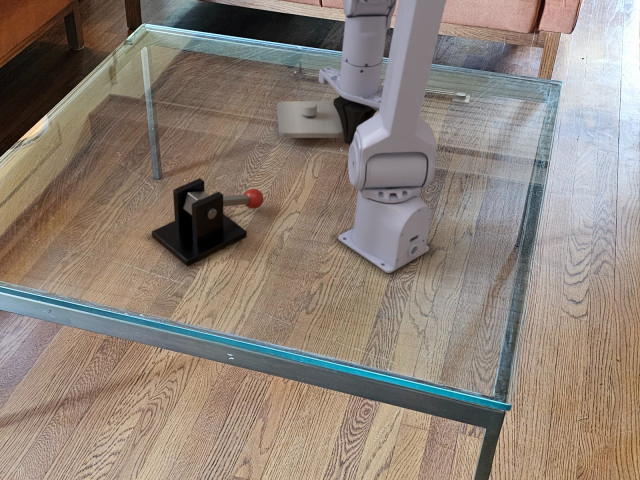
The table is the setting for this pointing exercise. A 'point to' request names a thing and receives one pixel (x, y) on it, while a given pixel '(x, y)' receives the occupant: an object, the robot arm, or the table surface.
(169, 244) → the bracket
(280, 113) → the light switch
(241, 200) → the lever
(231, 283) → the table surface
